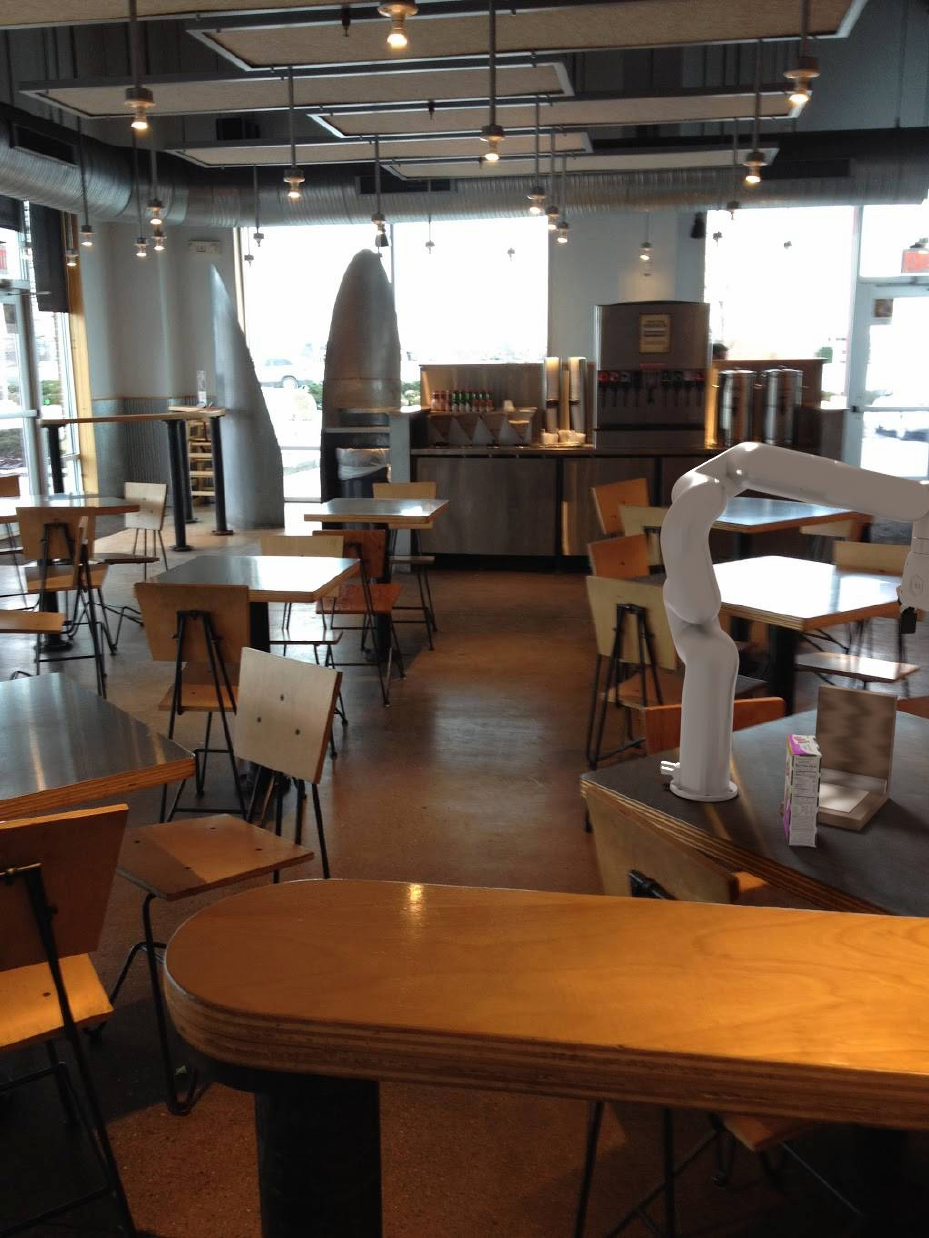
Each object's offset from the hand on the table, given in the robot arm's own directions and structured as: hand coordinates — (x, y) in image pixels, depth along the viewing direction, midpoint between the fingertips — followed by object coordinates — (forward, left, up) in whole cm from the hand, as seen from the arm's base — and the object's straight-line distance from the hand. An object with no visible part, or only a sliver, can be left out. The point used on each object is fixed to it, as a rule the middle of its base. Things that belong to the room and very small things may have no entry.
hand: (923, 638), depth 206 cm
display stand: (-9, -16, -30) cm, 35 cm away
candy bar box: (-10, -34, -30) cm, 46 cm away
